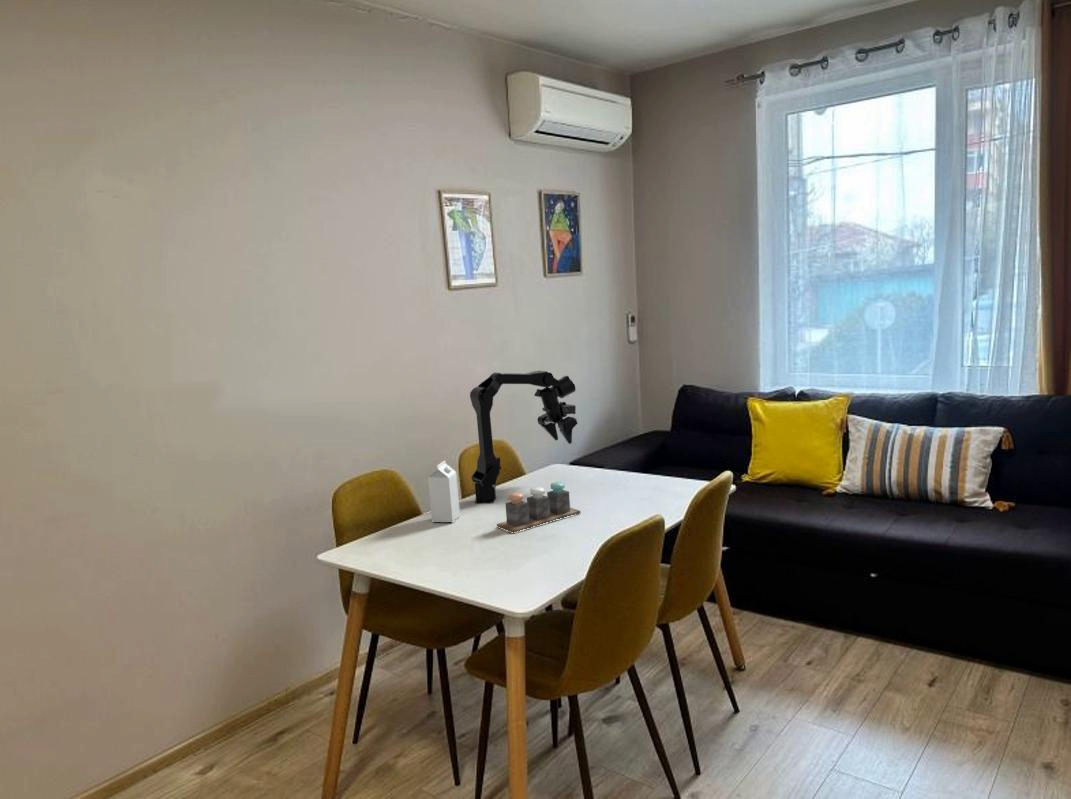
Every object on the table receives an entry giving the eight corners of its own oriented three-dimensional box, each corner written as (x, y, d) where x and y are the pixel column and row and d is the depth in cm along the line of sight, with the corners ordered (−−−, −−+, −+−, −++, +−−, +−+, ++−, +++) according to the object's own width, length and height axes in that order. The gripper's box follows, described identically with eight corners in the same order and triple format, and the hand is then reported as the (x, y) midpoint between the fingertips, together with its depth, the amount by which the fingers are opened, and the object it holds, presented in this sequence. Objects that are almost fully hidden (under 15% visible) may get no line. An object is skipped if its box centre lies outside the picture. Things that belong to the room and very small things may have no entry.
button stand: (513, 533, 215) (511, 509, 214) (496, 527, 223) (495, 503, 222) (580, 513, 230) (579, 491, 229) (563, 508, 238) (561, 486, 236)
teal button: (556, 497, 227) (556, 486, 227) (548, 495, 231) (547, 484, 230) (567, 494, 230) (567, 483, 229) (559, 492, 233) (558, 481, 233)
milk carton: (431, 523, 231) (426, 465, 228) (439, 516, 238) (434, 460, 235) (452, 523, 229) (447, 465, 226) (460, 516, 236) (455, 460, 233)
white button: (536, 503, 223) (535, 492, 222) (528, 500, 226) (527, 489, 226) (547, 500, 225) (547, 489, 224) (539, 497, 229) (538, 486, 228)
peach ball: (514, 509, 218) (513, 497, 217) (506, 506, 222) (505, 494, 221) (526, 505, 221) (525, 494, 220) (518, 503, 224) (517, 491, 224)
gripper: (582, 396, 258) (594, 436, 262) (555, 392, 274) (566, 429, 278) (558, 409, 253) (570, 449, 257) (531, 404, 269) (543, 441, 273)
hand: (563, 441), depth 267 cm, fingers open, 9 cm apart
